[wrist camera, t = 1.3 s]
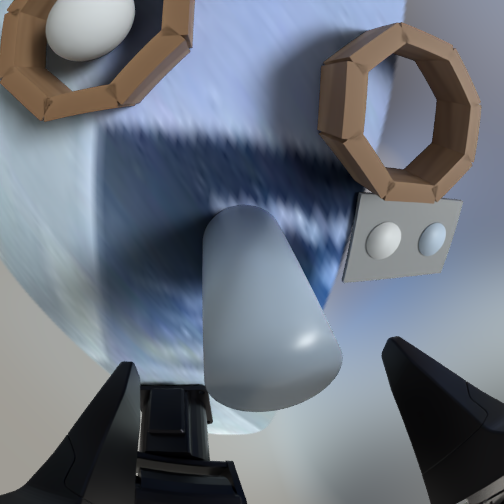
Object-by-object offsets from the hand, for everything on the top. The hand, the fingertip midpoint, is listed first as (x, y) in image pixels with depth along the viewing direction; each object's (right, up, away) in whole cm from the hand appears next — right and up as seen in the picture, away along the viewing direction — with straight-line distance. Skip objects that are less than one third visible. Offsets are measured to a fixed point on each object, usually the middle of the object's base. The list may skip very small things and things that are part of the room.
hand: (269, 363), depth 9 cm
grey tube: (-1, +4, +7) cm, 8 cm away
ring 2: (+7, +11, +4) cm, 14 cm away
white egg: (-8, +14, 0) cm, 16 cm away
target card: (+10, +5, +9) cm, 14 cm away
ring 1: (-8, +14, 0) cm, 16 cm away
